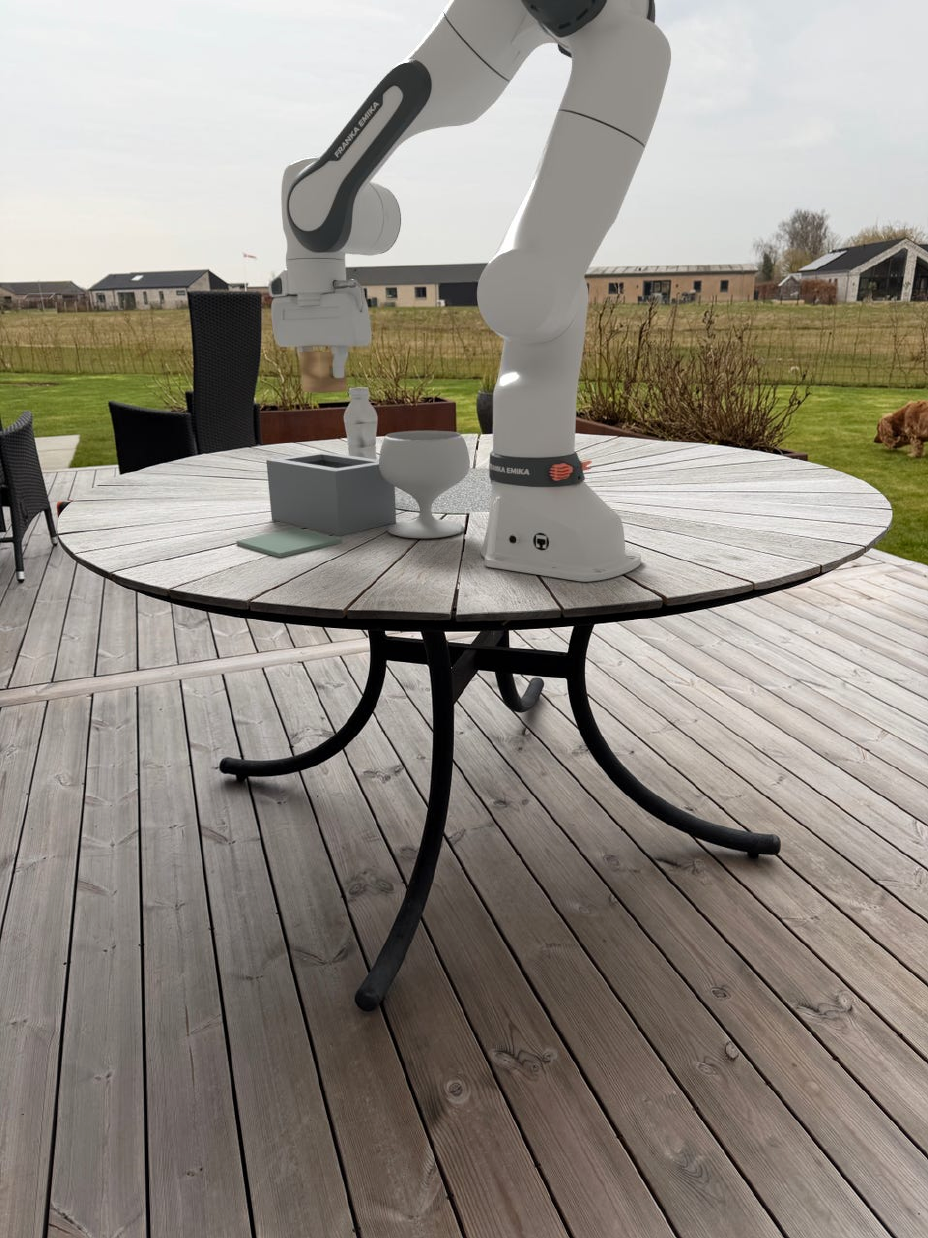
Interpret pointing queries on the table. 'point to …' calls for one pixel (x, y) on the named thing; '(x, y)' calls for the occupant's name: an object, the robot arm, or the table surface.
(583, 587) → the table surface
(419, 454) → the chalice
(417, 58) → the robot arm
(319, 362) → the honey block
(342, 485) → the box
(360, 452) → the plastic bottle
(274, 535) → the green mat
